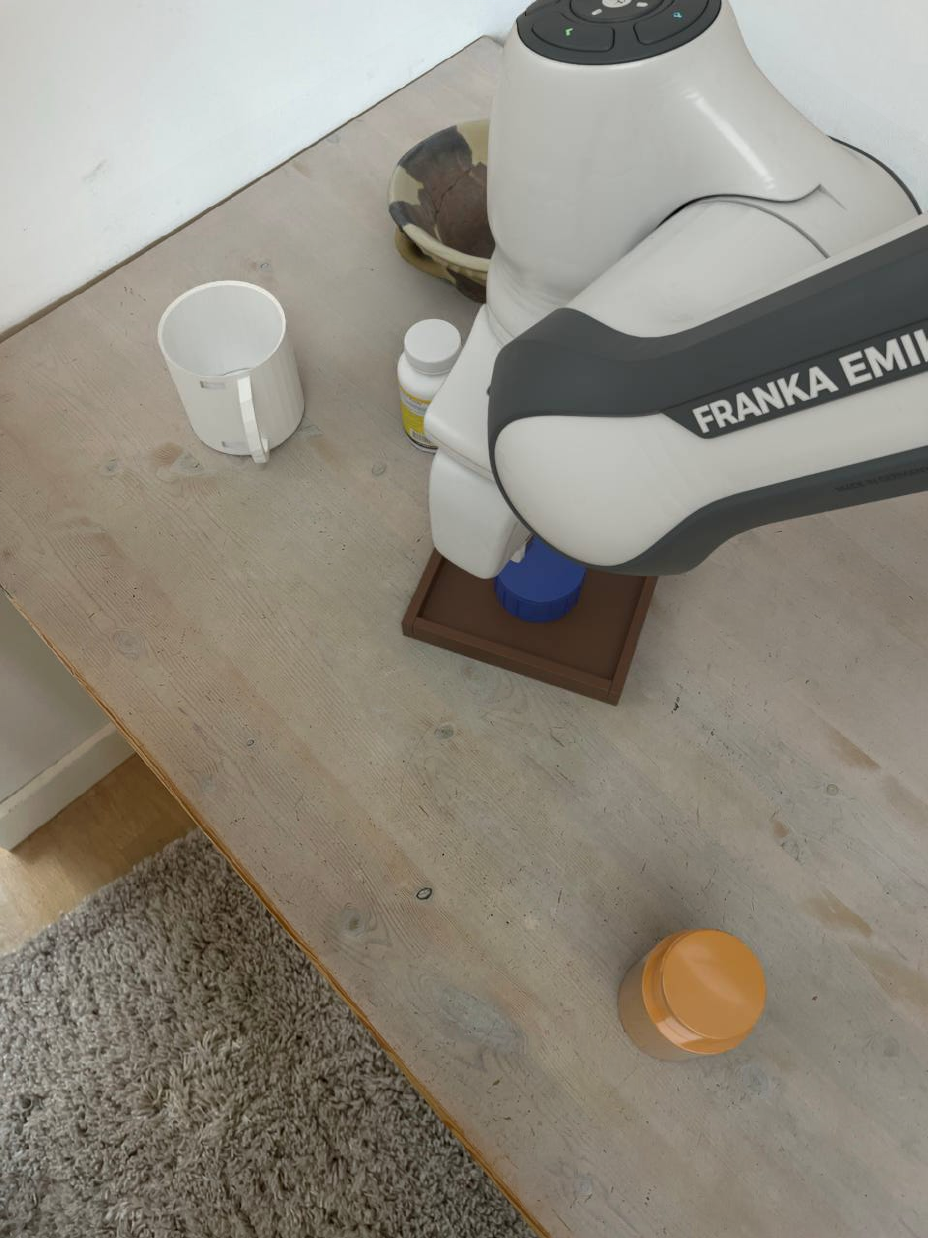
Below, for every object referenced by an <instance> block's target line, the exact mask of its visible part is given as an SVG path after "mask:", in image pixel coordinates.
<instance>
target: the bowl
mask: <svg viewBox="0 0 928 1238" xmlns="http://www.w3.org/2000/svg"><path fill="white" fill-rule="evenodd" d="M489 126H490V117H487V118H479V119H472V120H467V121H463V122H459V123H457V124H454V125H451V126H449V127H447V128H444V129H440V130H439V131H437V132H435V133H433V134H432V135H430V136H427V138H425V139H423V140H421V141H419V142H418V143H416V144H415V145H414V146H413V147H412V148H410V149H409V150H407V151H406V152H405V153H404V154H403V156H402V157H401V158H400V159H399V161H398V162H397V163H396V166H395V167H394V169H393V171H392V174H391V176H390V178H389V182H388V184H387V185H388V186H387V191H386V193H387V195H386V197H387V199H386V200H387V206H388V212H389V214H390V216H391V218H392V220H393V221H394V223H395V224H396V227H395V231H394V244H395V247H396V250H397V252H398V254H399V255H400V257H401V258H402V259H403V260H404V261H405V262H407V263H408V264H410V265H411V266H413V267H414V268H416V269H418V270H419V271H420V272H424V273H426V274H428V275H429V276H433V277H437V278H441V279H444V280H447V281H450V282H451V283H452V285H454V286H455V287H456V289H457V291H459V292H460V293H461V294H462V295H464V296H465V297H467V298H468V299H470V300H473V301H476V302H481V303H486V282H487V273H488V267H489V264H490V260H491V257H492V254H493V252H494V250H495V246H496V244H495V240H494V237H493V235H492V232H491V229H490V225H489V221H488V214H487V159H488V139H489Z"/></svg>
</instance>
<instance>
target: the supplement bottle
mask: <svg viewBox="0 0 928 1238" xmlns="http://www.w3.org/2000/svg"><path fill="white" fill-rule="evenodd" d="M462 350H463V347H462V339H461V334H460V332H459V330H458V329H457V328H456V327H455V326H454V324H452V323H450V322H449V321H446V320H443V319H440V318H439V319H438V318H429V319H422V320H420V321H418V322H416V323H414V324H413V325H412V326H411V327H409V329H408V330H407V332H406V333H405V335H404V351H403V352H402V354H401V355H400V357H399V359H398V362H397V371H396V372H397V380H398V381H397V382H398V393H399V401H400V402H399V403H400V408H401V409H400V410H401V418H402V425H403V426H402V427H403V431H404V434H405V437H406V438H407V440H408V441H409V442H410V443H411V444H412V445H413V446H414V447H415V448H417V449H418V450H421V451H423V452H426V453H429V454H436V452H437V450H438V447H437V446H436V445H434V444H433V443H432V442H430V441H429V440H428V439H427V438H426V437H425V434H424V427H423V422H424V416H425V413H426V410H427V408H428V406H429V405H430V403H431V401H432V400H433V398H434V397H435V395H436V394H437V392H438V390H439V389H440V387H441V386H442V384H443V382H444V381H445V379H446V378H447V376H448V374H449V373H450V371H451V369H452V368H453V366H454V364H455V362H456V361H457V359H458V357H459V356H460V354H461V352H462Z"/></svg>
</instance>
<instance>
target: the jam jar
mask: <svg viewBox="0 0 928 1238" xmlns="http://www.w3.org/2000/svg"><path fill="white" fill-rule="evenodd" d="M617 996H618V997H617V1009H618V1016H619V1020H620V1022H621V1025H622V1028H623V1030H624V1032H625V1034H626V1035H627V1037H628V1038H629V1040H630V1041H631V1042H632V1043H633V1044H634V1045H635V1046H636V1047H637V1048H638V1049H639V1050H640V1051H641V1052H642V1053H644V1054H646V1055H647V1056H649V1057H650V1058H653V1059H655V1060H658V1061H661V1062H667V1063H680V1062H686V1061H690V1060H695V1059H700V1058H704V1057H709V1056H714V1055H717V1054H722V1053H726V1052H727V1051H730V1050H732V1049H734V1048H735V1047H737V1046H738V1045H740V1044H741V1043H743V1042H744V1040H746V1038H748V1036H749V1035H750V1034H751V1032H752V1030H754V1027H755V1025H756V1024H757V1022H758V1021H759V1019H760V1018H761V1016H762V1014H763V1012H764V1009H765V1005H766V1001H767V981H766V977H765V973H764V970H763V967H762V965H761V963H760V961H759V959H758V958H757V956H756V954H755V953H754V952H753V951H752V950H751V948H749V947H748V945H746V944H745V942H744V941H743V940H741V939H739V938H737V936H735V935H733V934H732V933H729V932H726V931H723V930H720V929H718V928H707V927H704V928H703V927H702V928H691V929H684V930H680V931H677V932H675V933H671V934H670V935H668V936H666V937H665V938H663V939H662V940H661V941H660V942H659V943H657V944H656V945H655V946H654V947H653V948H651V950H649V951H648V952H647V953H646V954H645V955H643V957H641V958H640V959H639V960H638V961H637V962H635V964H633V965H632V966H631V967H630V968H629V969H628V971H627V972H626V973H625V975H624V977H623V979H622V981H621V983H620V986H619V990H618V995H617Z"/></svg>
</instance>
